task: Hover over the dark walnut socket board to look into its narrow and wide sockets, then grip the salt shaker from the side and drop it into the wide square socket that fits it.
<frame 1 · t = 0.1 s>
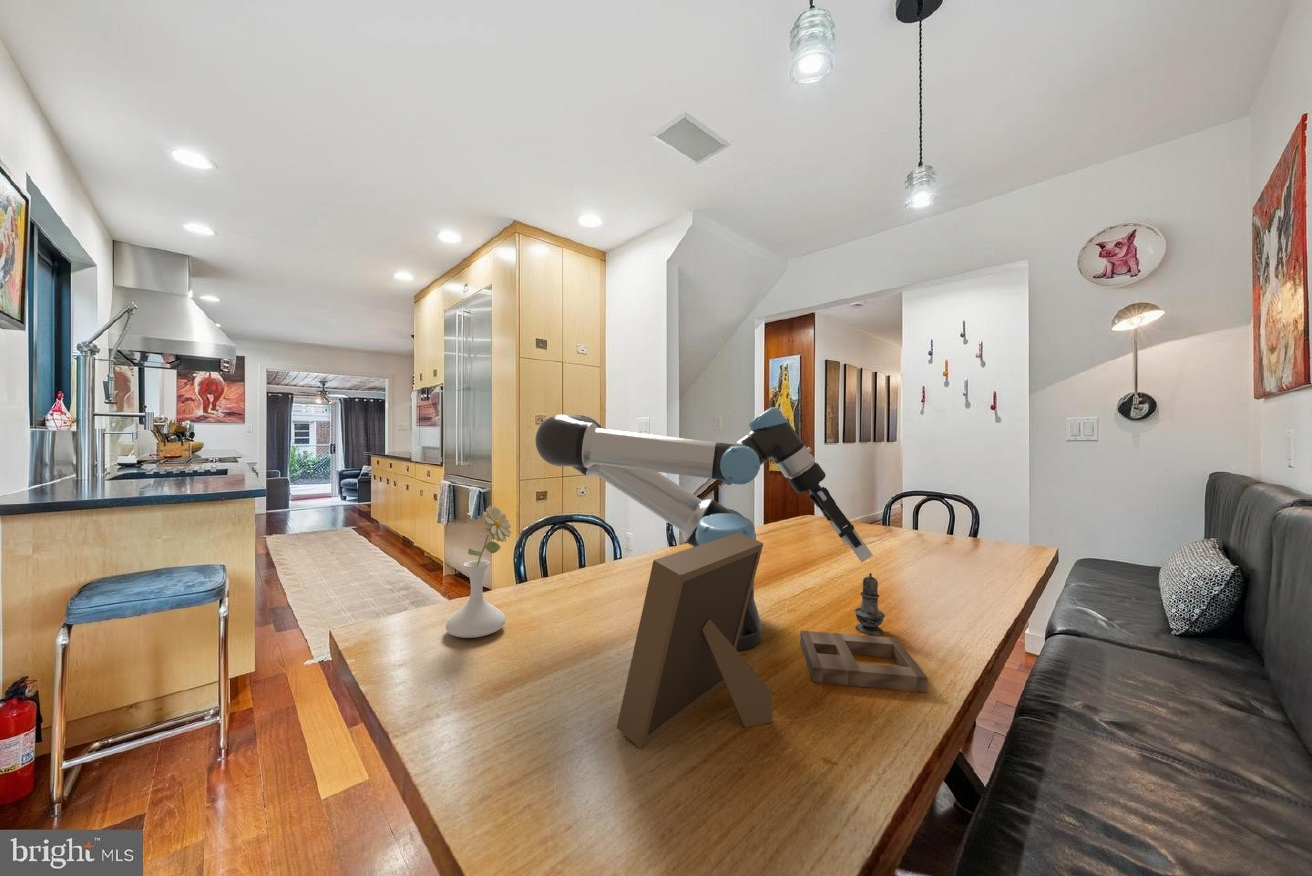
hand: (858, 550, 105), 15 cm above the table, tool tilted 35°, fingers open, 13 cm apart
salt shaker: (869, 630, 100), on the table
socket board: (857, 665, 85), on the table
flower in vase: (480, 630, 97), on the table
photo frame: (707, 721, 68), on the table
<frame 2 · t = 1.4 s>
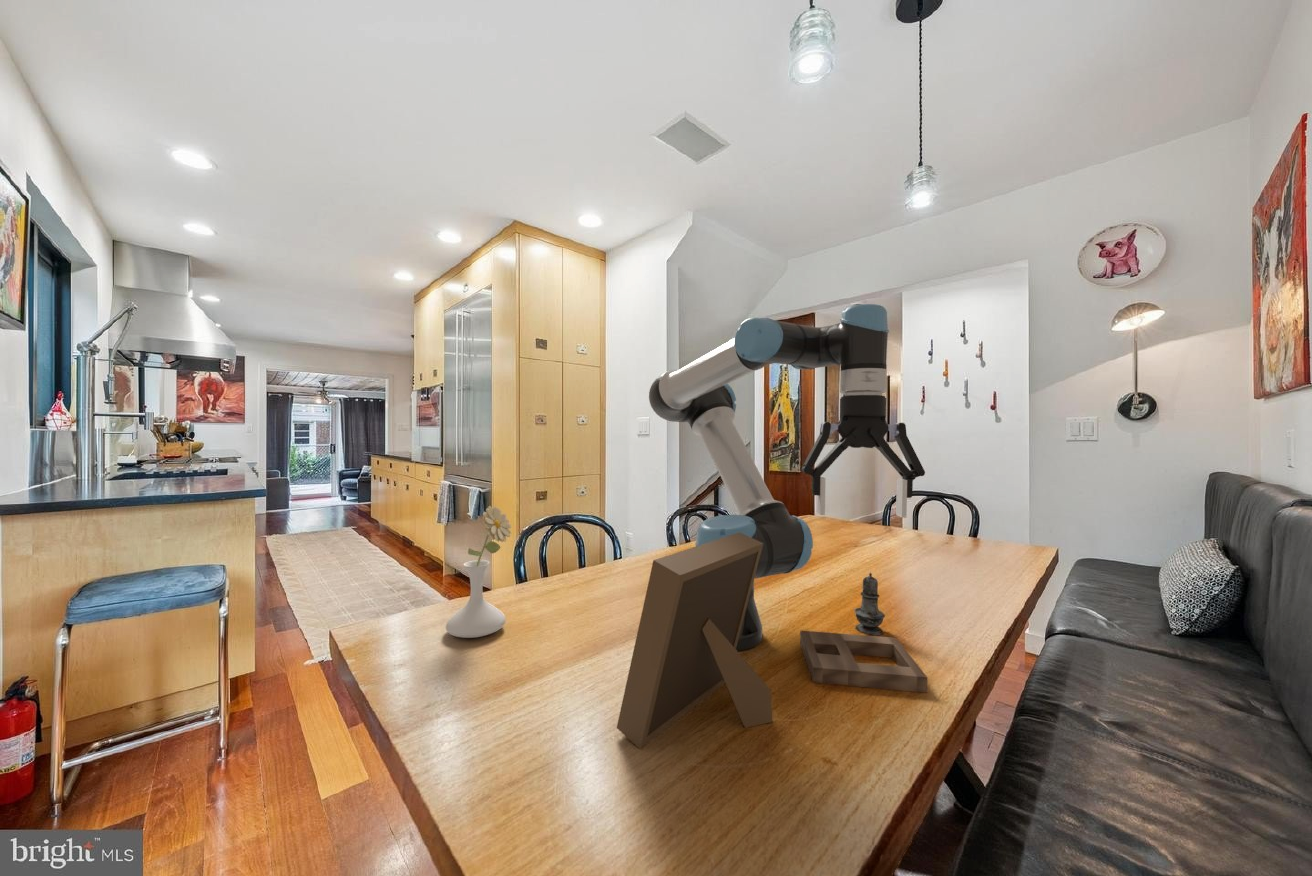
hand: (860, 515, 85), 27 cm above the table, tool pointing down, fingers open, 13 cm apart
nothing on the table moved.
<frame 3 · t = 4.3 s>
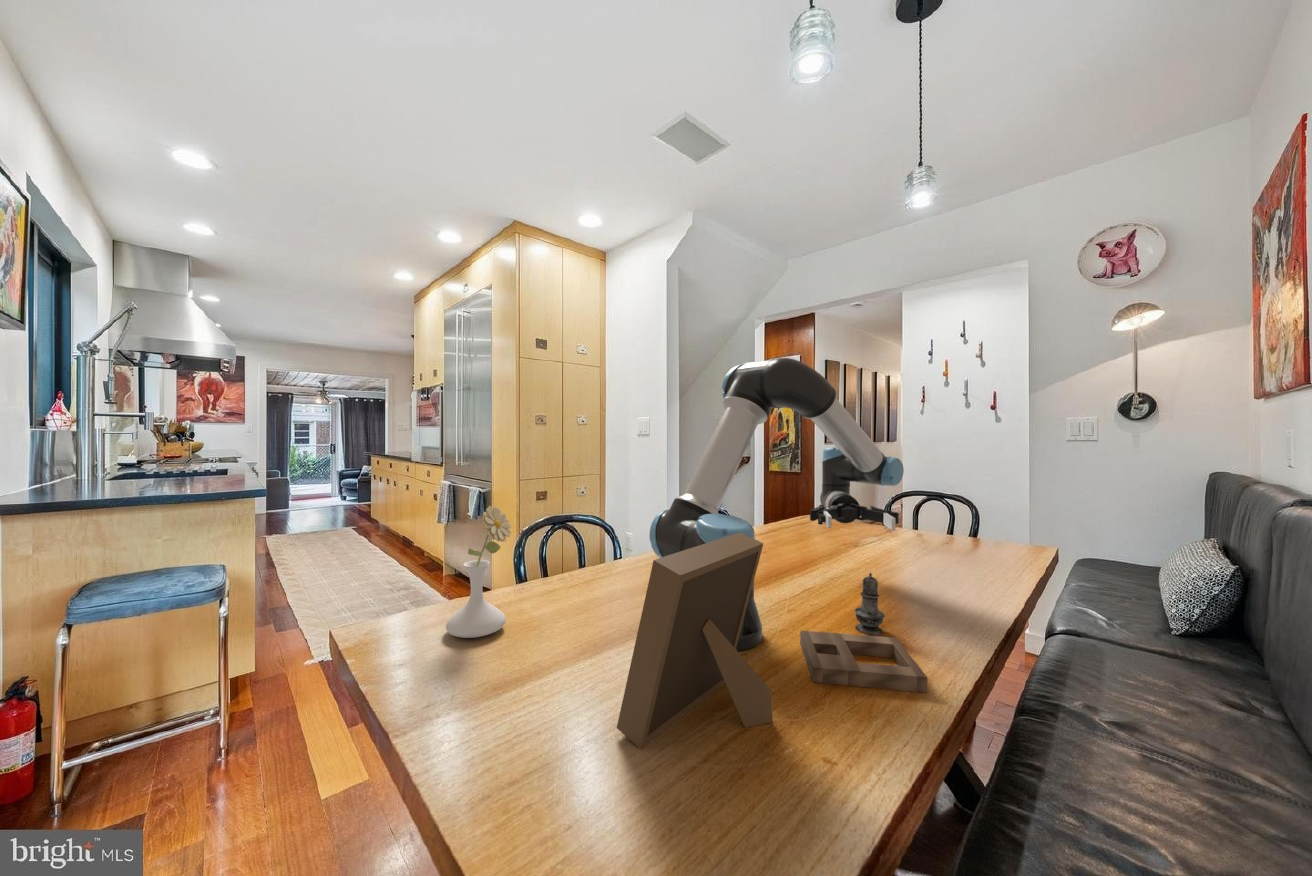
hand: (861, 523, 108), 21 cm above the table, tool horizontal, fingers open, 13 cm apart
nothing on the table moved.
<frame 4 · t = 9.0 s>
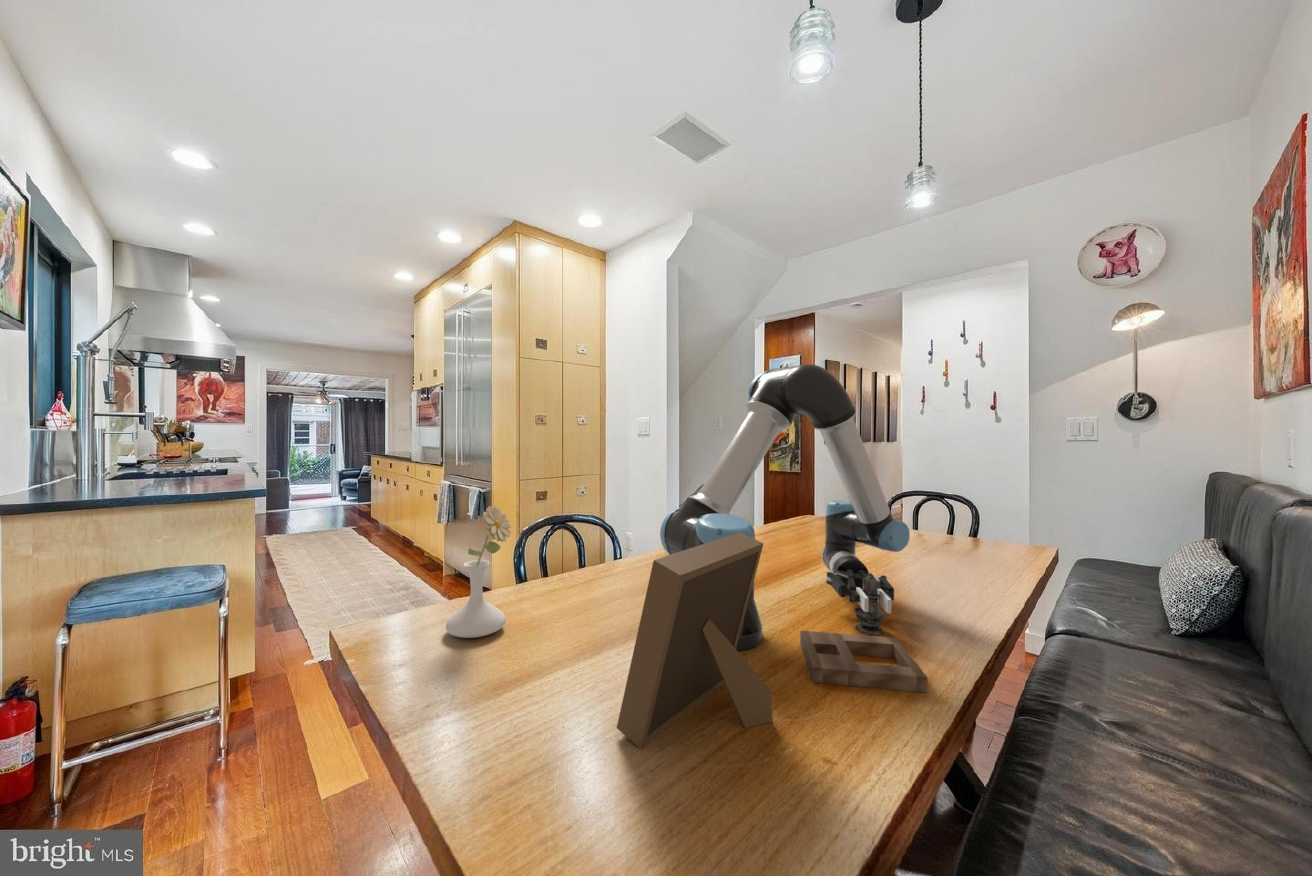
hand: (877, 605, 94), 7 cm above the table, tool horizontal, fingers closed on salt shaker, 4 cm apart
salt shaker: (869, 630, 100), on the table, touching gripper
everything else where it was.
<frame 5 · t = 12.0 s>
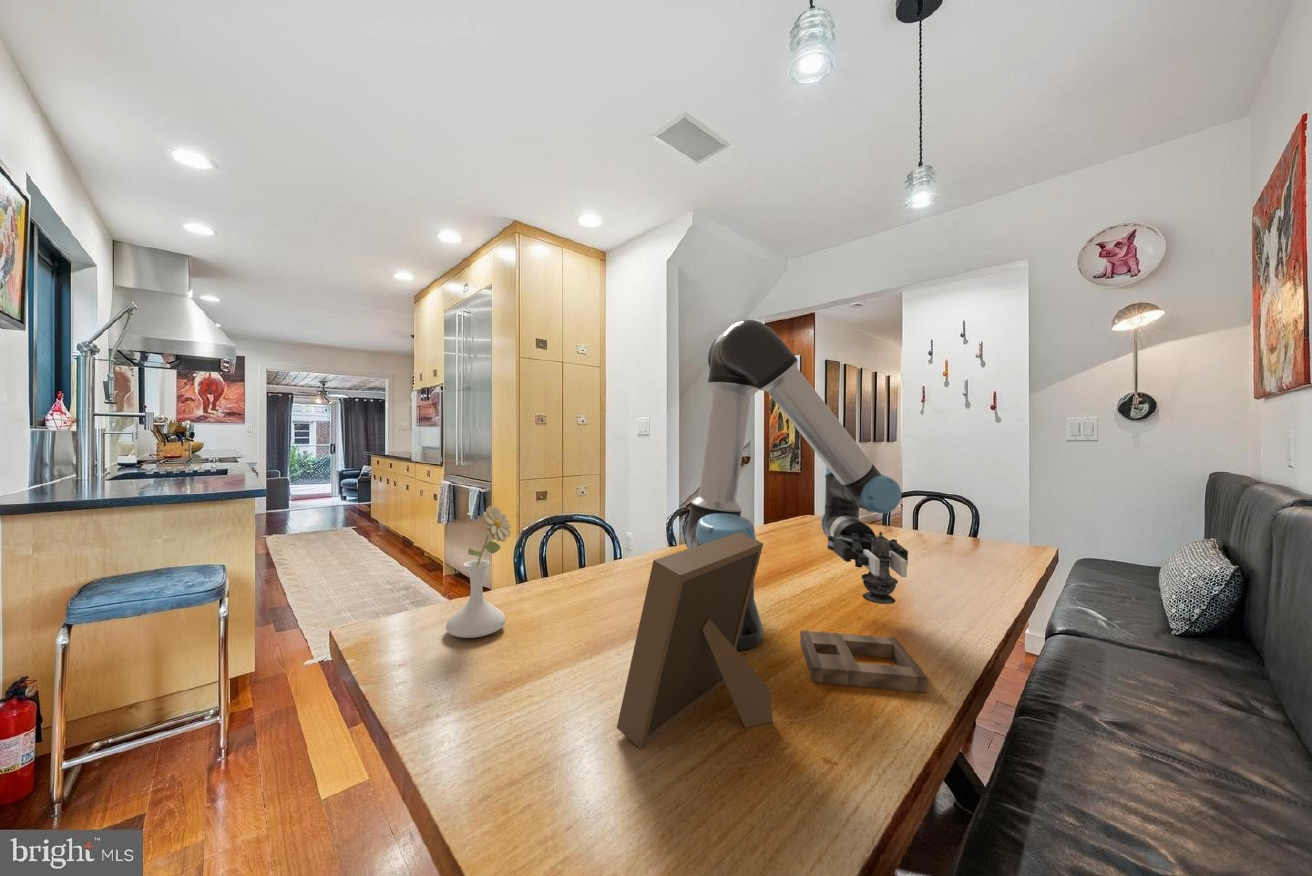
hand: (890, 568, 79), 19 cm above the table, tool horizontal, fingers closed on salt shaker, 4 cm apart
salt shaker: (878, 599, 85), point 12 cm above the table, touching gripper
everything else where it was.
when the fingers open (8 cm above the table, at t = 14.9 s): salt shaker drops 2 cm, resting in socket board.
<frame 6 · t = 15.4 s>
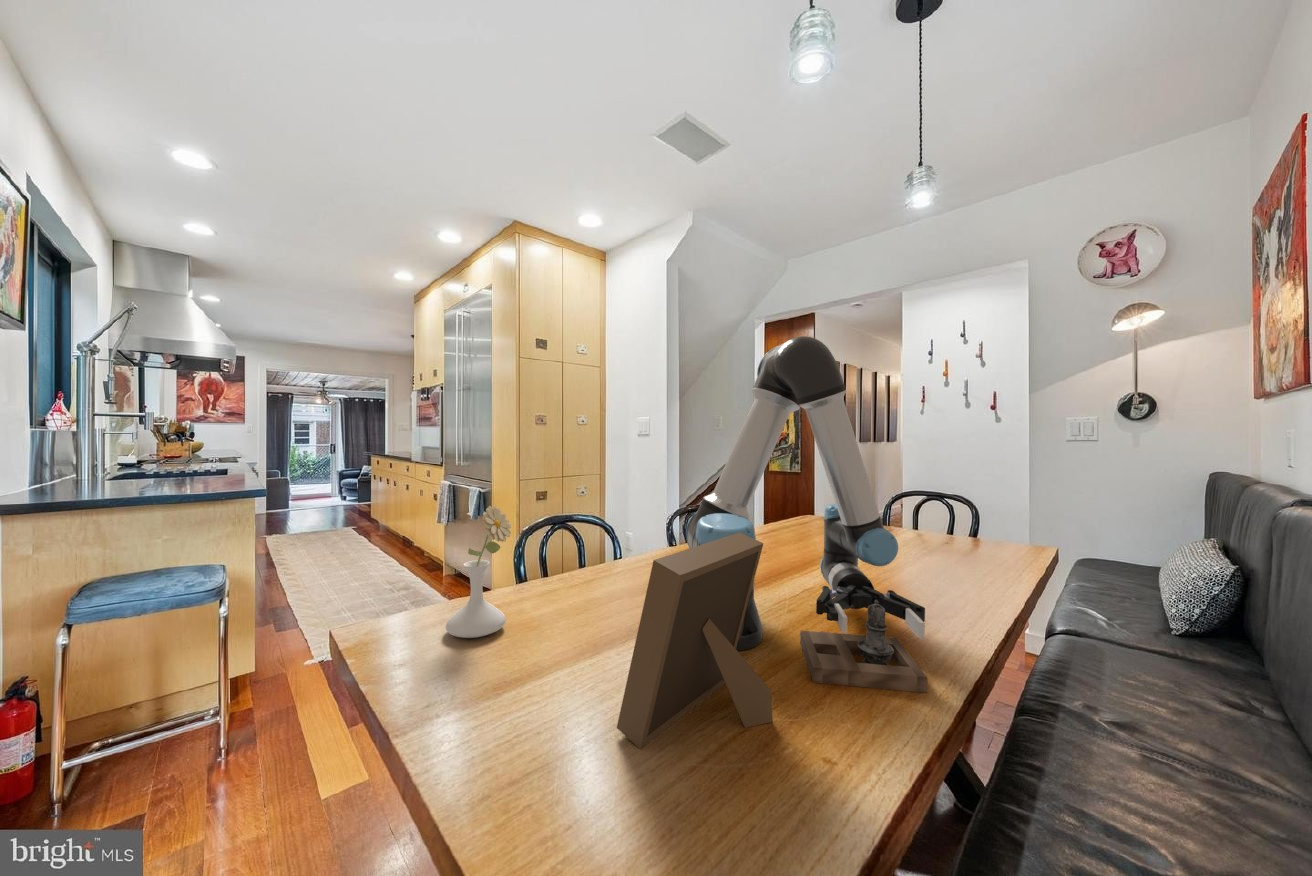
hand: (883, 628, 80), 8 cm above the table, tool horizontal, fingers open, 11 cm apart
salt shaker: (875, 668, 84), resting in socket board
everything else where it was.
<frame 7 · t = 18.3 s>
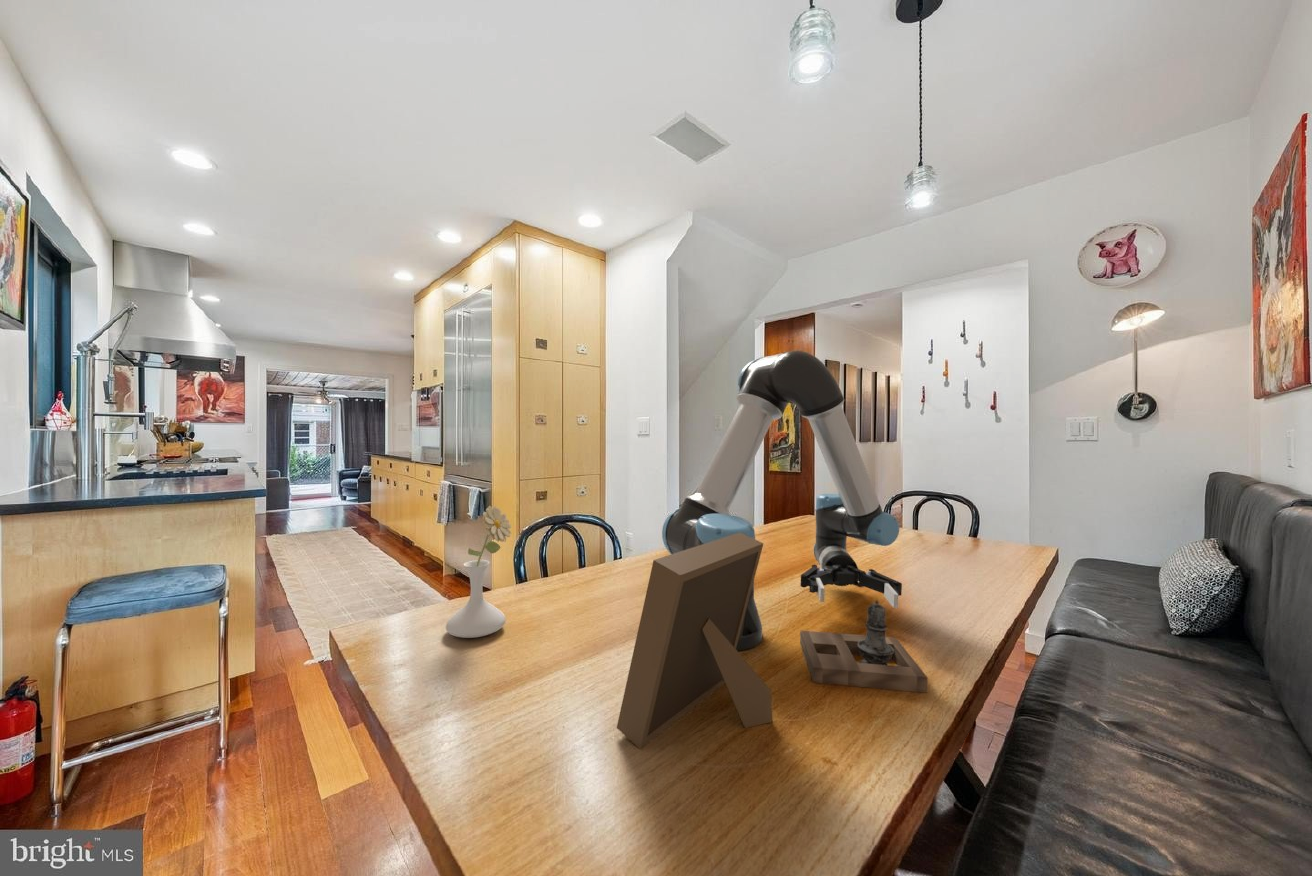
hand: (858, 598, 94), 9 cm above the table, tool horizontal, fingers open, 13 cm apart
nothing on the table moved.
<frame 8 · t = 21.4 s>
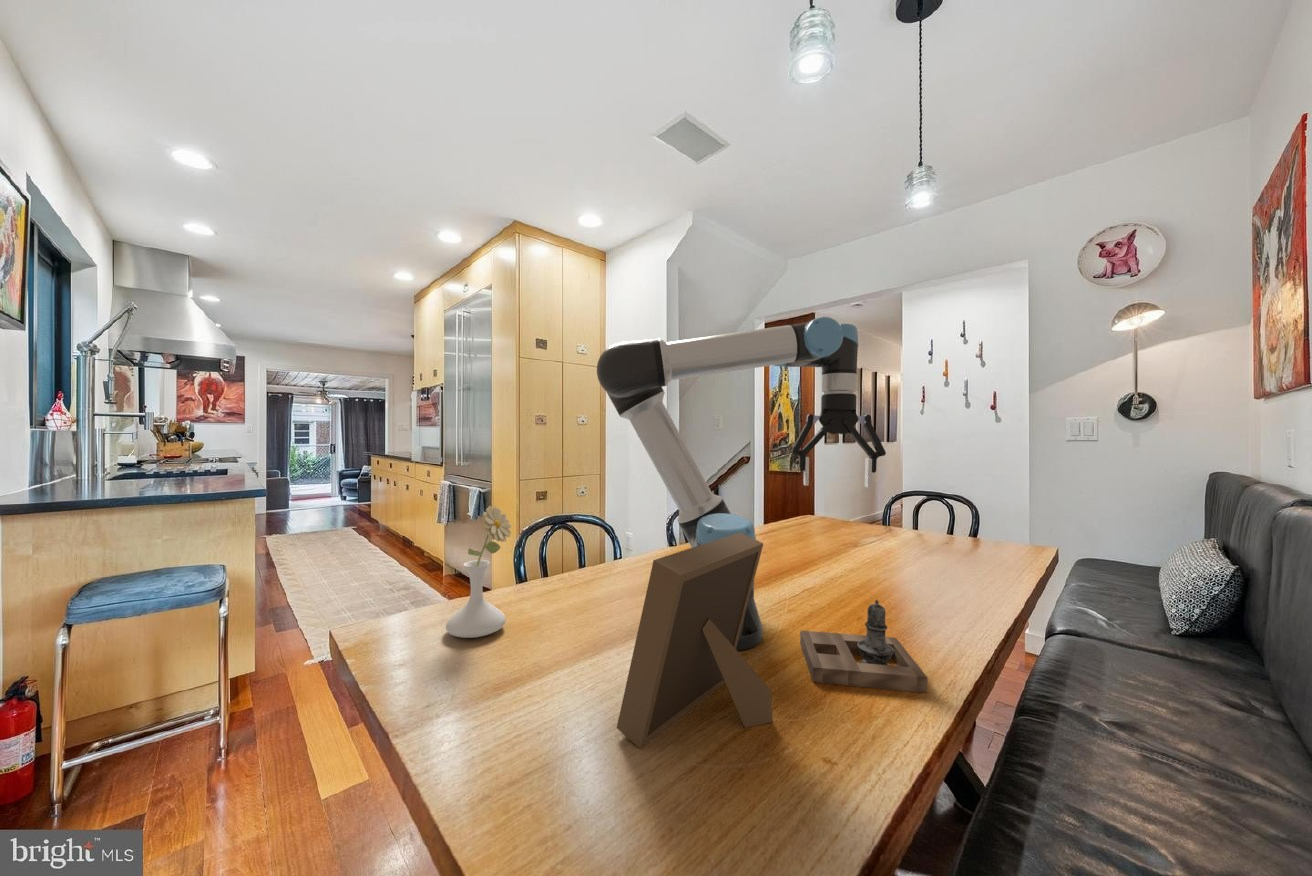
hand: (836, 486, 110), 29 cm above the table, tool pointing down, fingers open, 13 cm apart
nothing on the table moved.
at the end: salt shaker 0.0 cm from the target spot on the socket board, point 0.0 cm above the socket board's base; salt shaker tilted 0°; the gripper is holding nothing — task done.
